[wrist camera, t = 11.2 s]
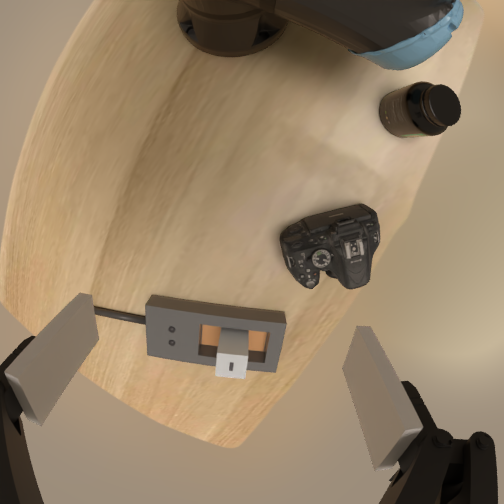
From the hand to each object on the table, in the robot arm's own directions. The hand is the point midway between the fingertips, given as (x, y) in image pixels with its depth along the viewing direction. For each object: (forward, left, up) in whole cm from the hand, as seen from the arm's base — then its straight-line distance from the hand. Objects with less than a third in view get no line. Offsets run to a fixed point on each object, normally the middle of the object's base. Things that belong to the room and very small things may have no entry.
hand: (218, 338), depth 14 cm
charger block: (+17, +1, -28) cm, 33 cm away
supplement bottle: (-19, +20, -28) cm, 39 cm away
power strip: (+17, -8, -28) cm, 34 cm away
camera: (+1, +12, -28) cm, 31 cm away
